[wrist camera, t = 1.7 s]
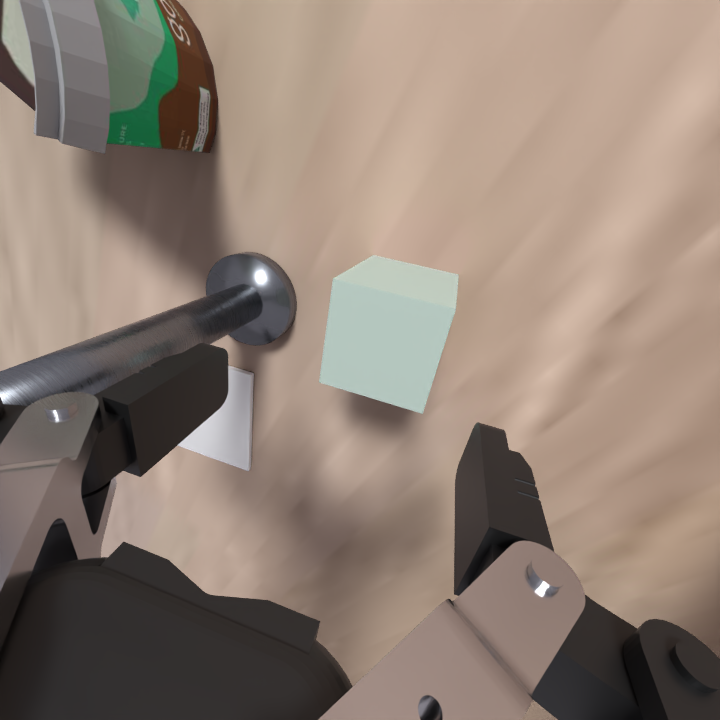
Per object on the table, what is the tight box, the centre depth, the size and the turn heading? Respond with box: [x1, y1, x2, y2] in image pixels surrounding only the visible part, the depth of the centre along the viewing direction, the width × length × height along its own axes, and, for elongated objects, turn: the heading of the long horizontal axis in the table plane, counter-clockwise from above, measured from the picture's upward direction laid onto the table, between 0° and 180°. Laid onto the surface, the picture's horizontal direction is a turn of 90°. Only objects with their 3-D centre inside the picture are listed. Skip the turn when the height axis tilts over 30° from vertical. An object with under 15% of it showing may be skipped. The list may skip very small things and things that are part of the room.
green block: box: [319, 255, 459, 414], centre depth 18 cm, size 5×5×7 cm
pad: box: [178, 365, 254, 471], centre depth 29 cm, size 10×10×1 cm
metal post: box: [0, 252, 297, 406], centre depth 14 cm, size 6×6×20 cm
